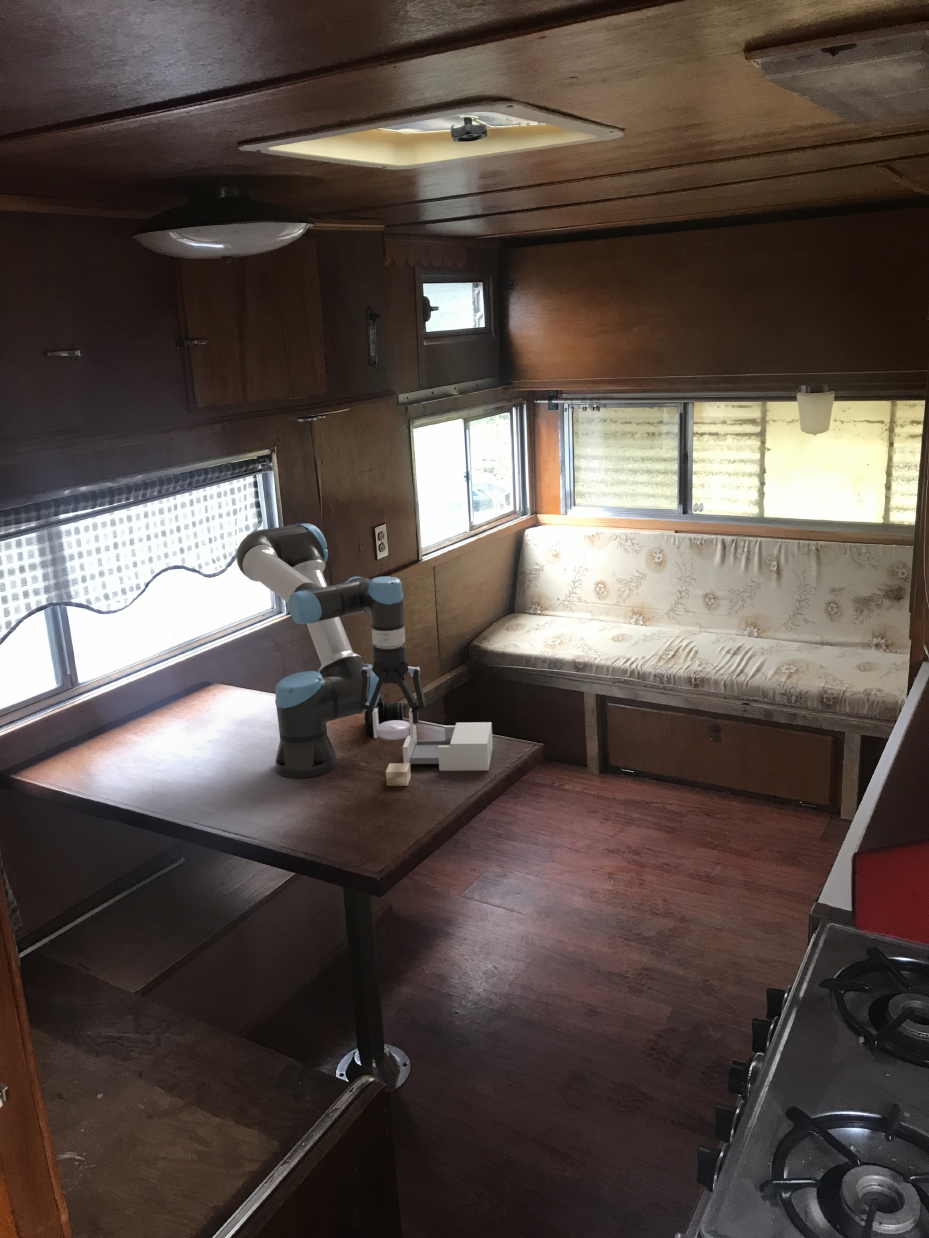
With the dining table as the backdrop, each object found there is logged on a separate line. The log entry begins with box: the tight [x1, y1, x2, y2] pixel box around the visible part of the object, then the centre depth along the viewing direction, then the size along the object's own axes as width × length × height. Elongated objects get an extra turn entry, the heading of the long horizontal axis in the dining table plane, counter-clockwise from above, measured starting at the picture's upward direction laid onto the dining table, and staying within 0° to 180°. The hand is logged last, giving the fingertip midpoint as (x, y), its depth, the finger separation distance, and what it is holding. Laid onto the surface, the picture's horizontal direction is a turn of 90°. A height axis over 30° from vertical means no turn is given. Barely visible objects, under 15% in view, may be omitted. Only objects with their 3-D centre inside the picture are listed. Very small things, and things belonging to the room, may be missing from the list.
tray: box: [402, 725, 451, 767], centre depth 247 cm, size 12×14×6 cm
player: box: [438, 721, 494, 772], centre depth 246 cm, size 12×14×7 cm
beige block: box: [385, 762, 412, 787], centre depth 236 cm, size 5×5×4 cm
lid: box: [377, 720, 410, 741], centre depth 233 cm, size 8×8×2 cm
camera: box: [364, 693, 404, 739], centre depth 269 cm, size 14×11×10 cm
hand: (394, 735), depth 234 cm, fingers closed on lid, 8 cm apart
